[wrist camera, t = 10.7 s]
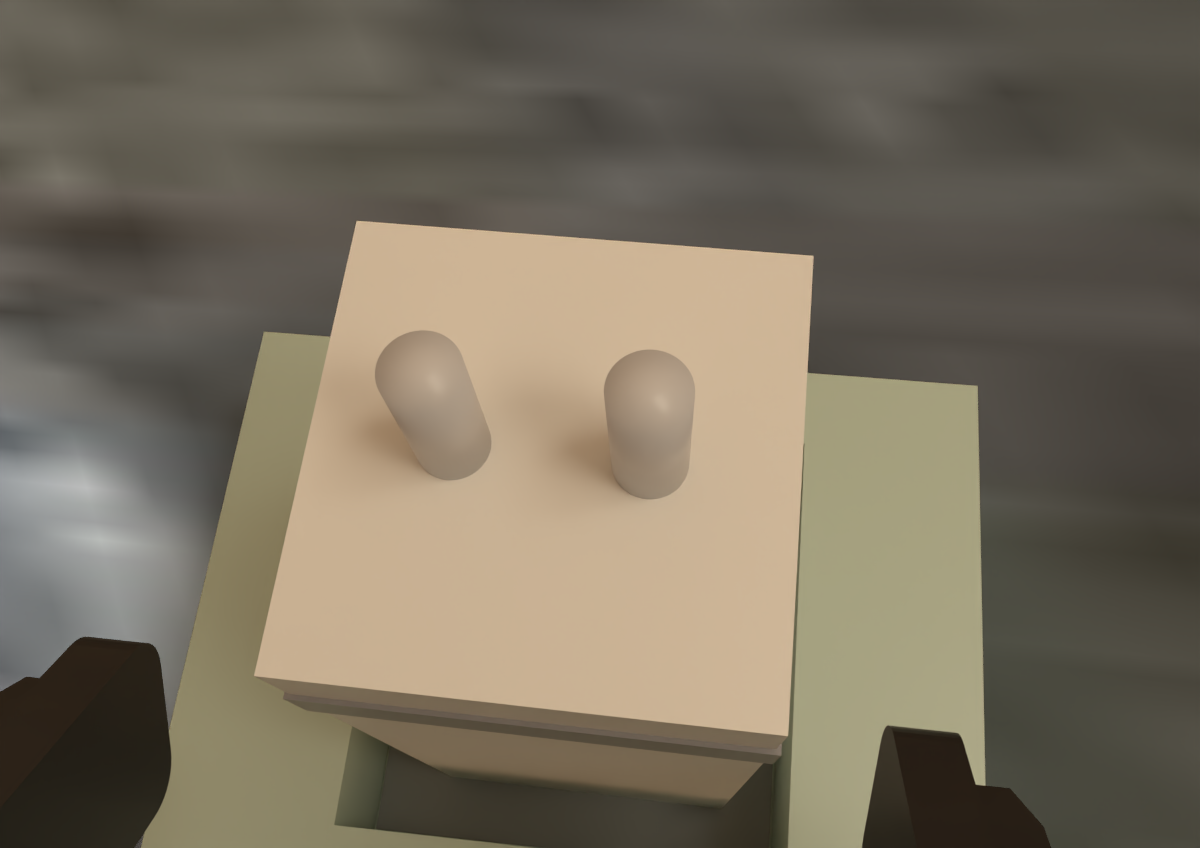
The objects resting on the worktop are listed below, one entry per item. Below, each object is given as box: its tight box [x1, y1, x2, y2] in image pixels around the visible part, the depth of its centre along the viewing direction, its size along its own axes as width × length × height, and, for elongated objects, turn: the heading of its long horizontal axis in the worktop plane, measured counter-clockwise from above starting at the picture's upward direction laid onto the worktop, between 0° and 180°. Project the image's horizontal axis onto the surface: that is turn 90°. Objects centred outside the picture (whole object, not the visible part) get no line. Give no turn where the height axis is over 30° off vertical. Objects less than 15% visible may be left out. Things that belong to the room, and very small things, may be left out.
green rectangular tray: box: [141, 332, 985, 848], centre depth 19 cm, size 12×9×3 cm
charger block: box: [254, 221, 813, 809], centre depth 14 cm, size 5×5×12 cm
